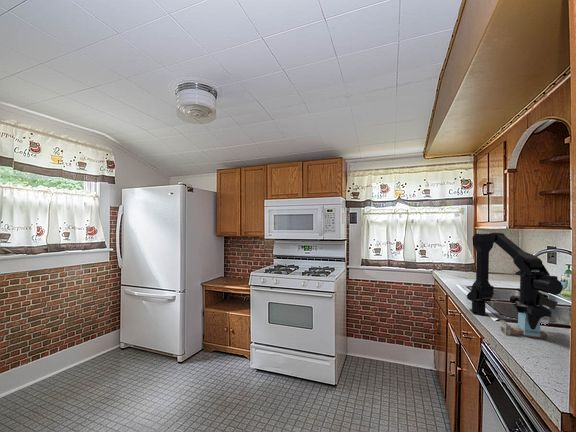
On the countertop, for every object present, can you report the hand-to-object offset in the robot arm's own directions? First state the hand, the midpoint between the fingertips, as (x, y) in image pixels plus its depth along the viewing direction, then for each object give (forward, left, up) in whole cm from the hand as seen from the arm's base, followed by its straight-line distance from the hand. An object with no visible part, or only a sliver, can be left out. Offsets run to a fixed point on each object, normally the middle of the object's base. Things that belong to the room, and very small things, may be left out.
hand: (528, 326), depth 111 cm
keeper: (0, 0, -4) cm, 4 cm away
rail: (0, -2, -4) cm, 4 cm away
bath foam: (-19, +12, -4) cm, 23 cm away
